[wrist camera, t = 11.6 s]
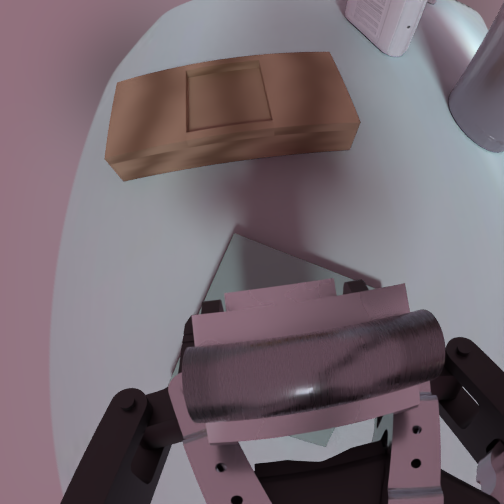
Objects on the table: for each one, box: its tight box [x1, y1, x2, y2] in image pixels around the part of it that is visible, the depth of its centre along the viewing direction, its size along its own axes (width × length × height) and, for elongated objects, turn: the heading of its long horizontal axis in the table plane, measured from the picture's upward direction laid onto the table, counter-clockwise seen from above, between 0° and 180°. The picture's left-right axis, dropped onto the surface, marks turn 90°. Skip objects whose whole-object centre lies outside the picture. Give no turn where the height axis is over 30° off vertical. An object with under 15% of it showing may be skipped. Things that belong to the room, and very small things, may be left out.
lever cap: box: [182, 278, 445, 443], centre depth 11 cm, size 5×6×12 cm
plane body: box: [105, 52, 361, 181], centre depth 25 cm, size 20×9×4 cm, turn 97°
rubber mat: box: [168, 233, 375, 447], centre depth 21 cm, size 12×12×1 cm
